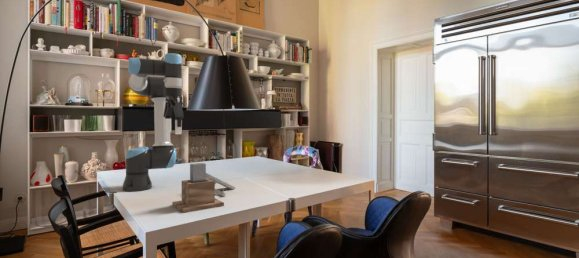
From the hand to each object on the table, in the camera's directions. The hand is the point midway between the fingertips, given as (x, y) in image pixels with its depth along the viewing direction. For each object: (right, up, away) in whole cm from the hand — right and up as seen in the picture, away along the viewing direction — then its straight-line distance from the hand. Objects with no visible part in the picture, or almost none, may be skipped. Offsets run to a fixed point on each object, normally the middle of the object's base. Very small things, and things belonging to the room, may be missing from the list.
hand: (173, 133), depth 152 cm
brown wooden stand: (+12, -34, -1) cm, 36 cm away
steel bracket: (+12, -28, -1) cm, 31 cm away
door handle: (+18, -33, +25) cm, 46 cm away
